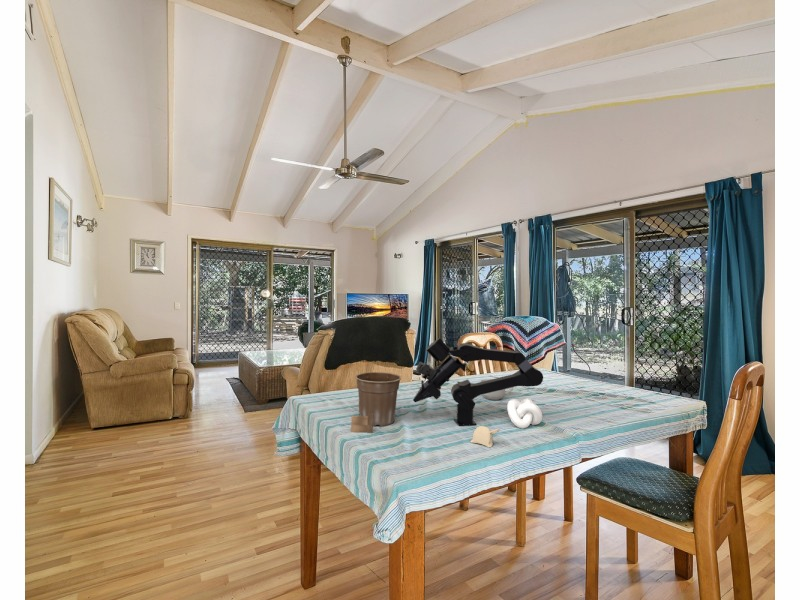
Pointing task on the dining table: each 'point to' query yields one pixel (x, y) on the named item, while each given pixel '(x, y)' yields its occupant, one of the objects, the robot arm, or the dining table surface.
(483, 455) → the dining table surface
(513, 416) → the white knot sculpture
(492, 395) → the teacup
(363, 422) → the wooden block
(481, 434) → the decorative ornament
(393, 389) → the plant pot
